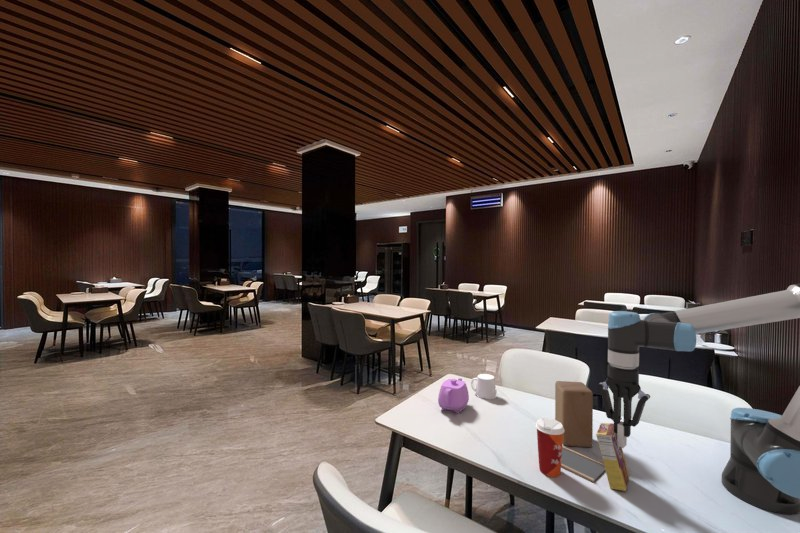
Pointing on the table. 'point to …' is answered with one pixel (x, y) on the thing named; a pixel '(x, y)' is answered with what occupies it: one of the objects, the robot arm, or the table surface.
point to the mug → (485, 386)
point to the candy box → (612, 457)
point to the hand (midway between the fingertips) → (621, 445)
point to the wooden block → (574, 412)
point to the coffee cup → (550, 446)
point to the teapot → (453, 395)
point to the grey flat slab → (581, 465)
